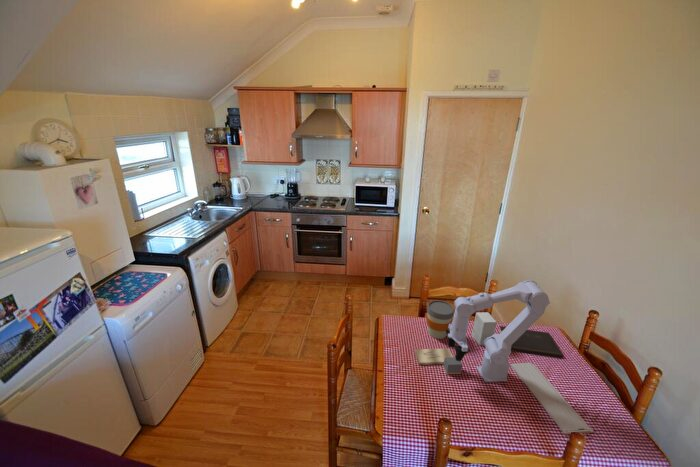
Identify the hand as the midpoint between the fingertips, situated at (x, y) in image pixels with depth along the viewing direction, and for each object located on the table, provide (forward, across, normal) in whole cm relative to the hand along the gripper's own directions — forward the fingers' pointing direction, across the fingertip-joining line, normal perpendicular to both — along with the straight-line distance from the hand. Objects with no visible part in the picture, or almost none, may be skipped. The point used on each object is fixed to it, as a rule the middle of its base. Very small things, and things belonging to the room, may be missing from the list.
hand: (454, 353), depth 124 cm
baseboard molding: (+10, +14, +33) cm, 37 cm away
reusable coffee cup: (+9, -24, +2) cm, 26 cm away
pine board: (+9, -8, -5) cm, 13 cm away
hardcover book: (+10, -15, +44) cm, 48 cm away
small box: (+9, -18, +22) cm, 30 cm away
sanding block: (+9, 0, 0) cm, 9 cm away
